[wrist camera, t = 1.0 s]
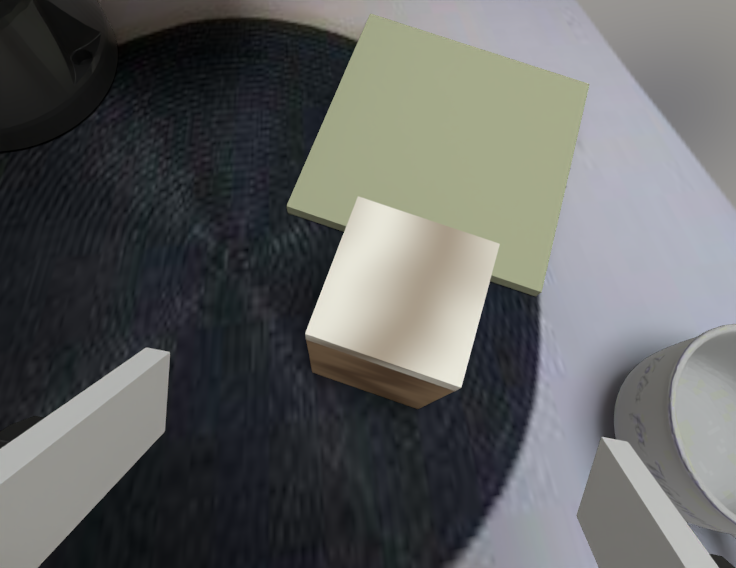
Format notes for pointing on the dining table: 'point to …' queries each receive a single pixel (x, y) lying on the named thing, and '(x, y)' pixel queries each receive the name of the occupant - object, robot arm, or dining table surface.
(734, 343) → the teacup
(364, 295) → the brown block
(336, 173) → the olive mat
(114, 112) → the dining table surface
